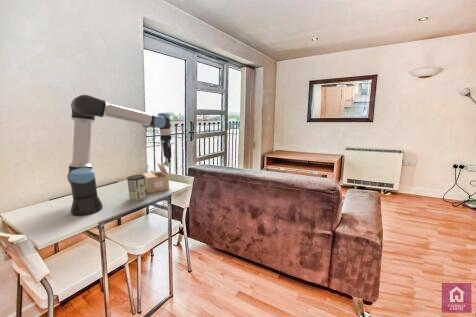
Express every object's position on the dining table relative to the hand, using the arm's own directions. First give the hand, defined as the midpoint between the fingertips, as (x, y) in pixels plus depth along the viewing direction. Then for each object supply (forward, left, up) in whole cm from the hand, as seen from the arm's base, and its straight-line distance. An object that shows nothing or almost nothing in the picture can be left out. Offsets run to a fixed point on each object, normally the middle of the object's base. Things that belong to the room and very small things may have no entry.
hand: (168, 166), depth 177 cm
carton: (-10, 0, -15) cm, 18 cm away
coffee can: (-25, -14, -15) cm, 33 cm away
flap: (-5, 0, -1) cm, 5 cm away
